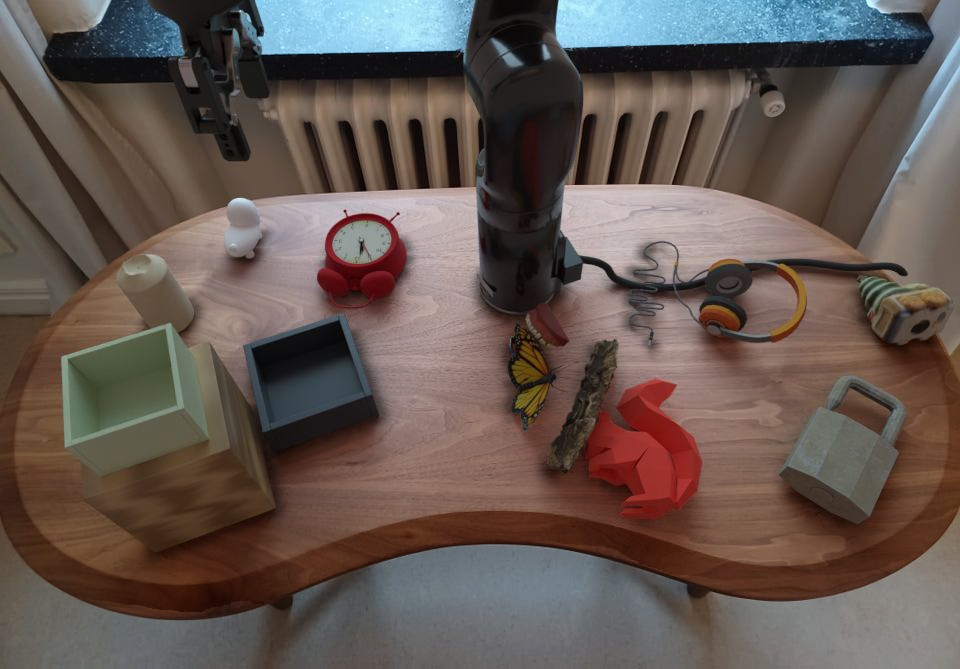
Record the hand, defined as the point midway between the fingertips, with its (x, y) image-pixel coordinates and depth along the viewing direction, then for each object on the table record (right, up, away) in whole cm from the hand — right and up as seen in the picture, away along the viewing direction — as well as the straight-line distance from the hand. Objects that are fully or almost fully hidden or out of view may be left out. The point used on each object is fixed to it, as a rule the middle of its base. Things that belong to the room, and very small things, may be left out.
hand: (249, 125), depth 59 cm
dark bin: (+1, -25, +18) cm, 30 cm away
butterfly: (+28, -24, +15) cm, 40 cm away
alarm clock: (+5, -10, +28) cm, 30 cm away
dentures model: (+28, -16, +14) cm, 35 cm away
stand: (-8, -33, +12) cm, 36 cm away
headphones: (+48, -15, +23) cm, 55 cm away
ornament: (+70, -17, +16) cm, 74 cm away
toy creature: (-11, -6, +31) cm, 33 cm away
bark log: (+32, -27, +15) cm, 45 cm away
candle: (-18, -16, +24) cm, 34 cm away
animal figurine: (+37, -31, +12) cm, 49 cm away
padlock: (+53, -34, +7) cm, 63 cm away
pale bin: (-9, -25, +1) cm, 27 cm away
